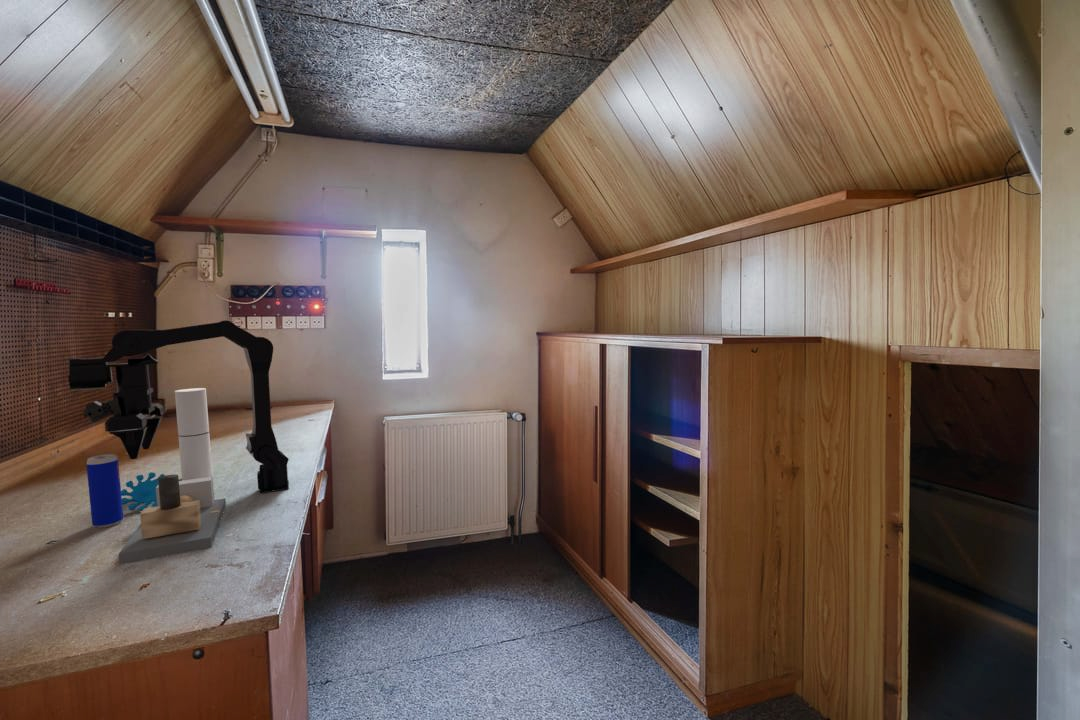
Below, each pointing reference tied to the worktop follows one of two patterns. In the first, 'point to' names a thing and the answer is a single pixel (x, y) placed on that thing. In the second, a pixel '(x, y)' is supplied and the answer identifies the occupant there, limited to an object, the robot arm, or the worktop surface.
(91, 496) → the beverage can
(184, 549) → the cracker base
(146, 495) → the blue virus model
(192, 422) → the tall white block
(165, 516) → the lever handle
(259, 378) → the robot arm
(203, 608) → the worktop surface
